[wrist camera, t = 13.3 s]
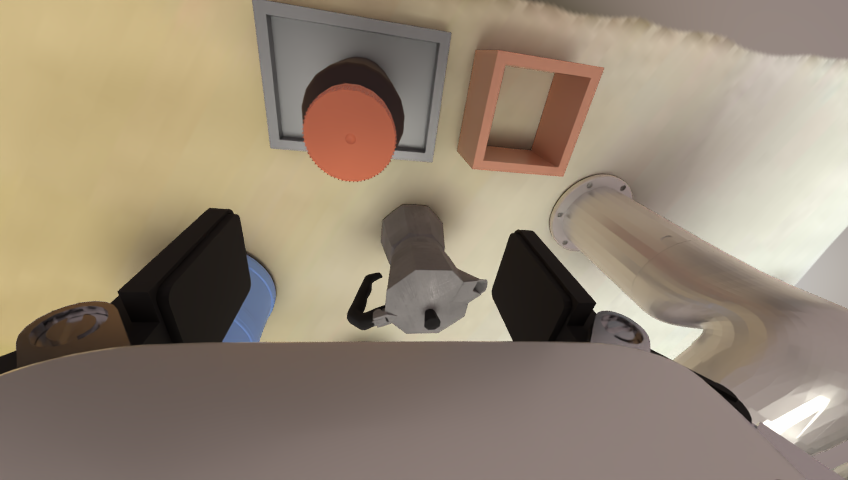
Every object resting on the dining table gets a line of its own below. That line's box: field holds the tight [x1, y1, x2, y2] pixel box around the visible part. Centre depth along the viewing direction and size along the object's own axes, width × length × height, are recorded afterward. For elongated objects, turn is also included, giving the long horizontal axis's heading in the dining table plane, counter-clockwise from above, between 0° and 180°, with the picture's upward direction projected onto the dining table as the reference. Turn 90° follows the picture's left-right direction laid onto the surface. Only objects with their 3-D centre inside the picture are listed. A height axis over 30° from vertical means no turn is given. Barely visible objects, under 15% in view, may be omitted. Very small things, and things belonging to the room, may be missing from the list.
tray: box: [252, 0, 451, 162], centre depth 33 cm, size 18×13×2 cm
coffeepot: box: [347, 205, 487, 334], centre depth 37 cm, size 15×9×18 cm, turn 105°
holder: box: [457, 50, 604, 177], centre depth 34 cm, size 11×11×7 cm
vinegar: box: [302, 57, 405, 182], centre depth 25 cm, size 7×7×20 cm
